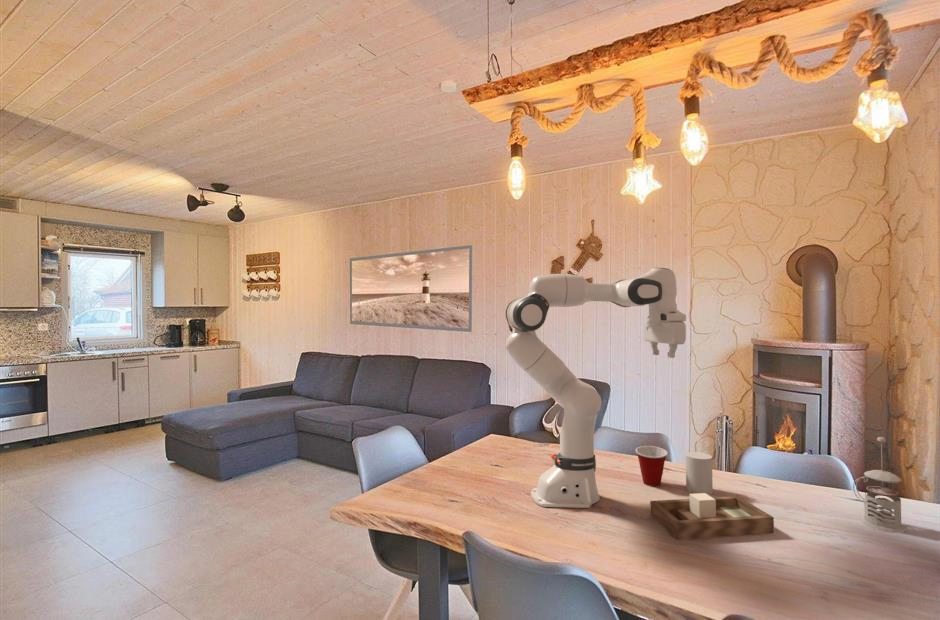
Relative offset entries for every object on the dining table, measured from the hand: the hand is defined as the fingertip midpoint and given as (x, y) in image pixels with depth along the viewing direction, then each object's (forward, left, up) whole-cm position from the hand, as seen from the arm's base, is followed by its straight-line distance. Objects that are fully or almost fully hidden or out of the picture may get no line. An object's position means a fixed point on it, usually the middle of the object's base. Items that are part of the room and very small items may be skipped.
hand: (663, 356), depth 158 cm
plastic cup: (0, +9, -47) cm, 47 cm away
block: (0, -21, -44) cm, 49 cm away
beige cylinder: (+13, +1, -47) cm, 48 cm away
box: (+1, -24, -46) cm, 52 cm away
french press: (+49, -29, -47) cm, 73 cm away
